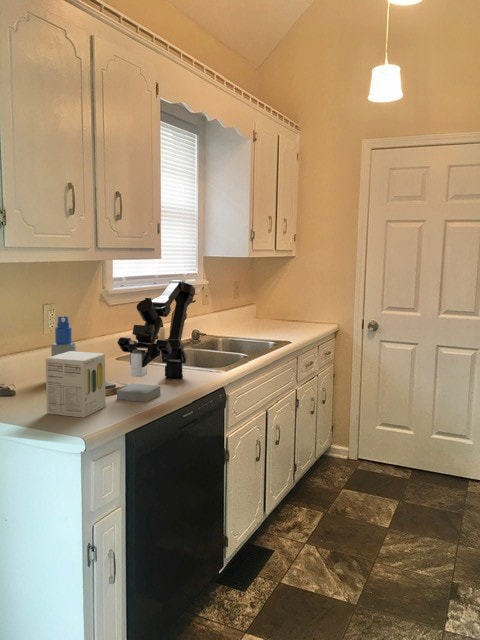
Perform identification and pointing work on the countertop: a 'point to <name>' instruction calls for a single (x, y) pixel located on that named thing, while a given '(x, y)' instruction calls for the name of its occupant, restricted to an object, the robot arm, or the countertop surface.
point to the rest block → (138, 392)
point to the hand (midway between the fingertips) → (137, 366)
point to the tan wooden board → (113, 387)
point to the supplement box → (75, 383)
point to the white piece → (138, 363)
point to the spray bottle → (62, 337)
